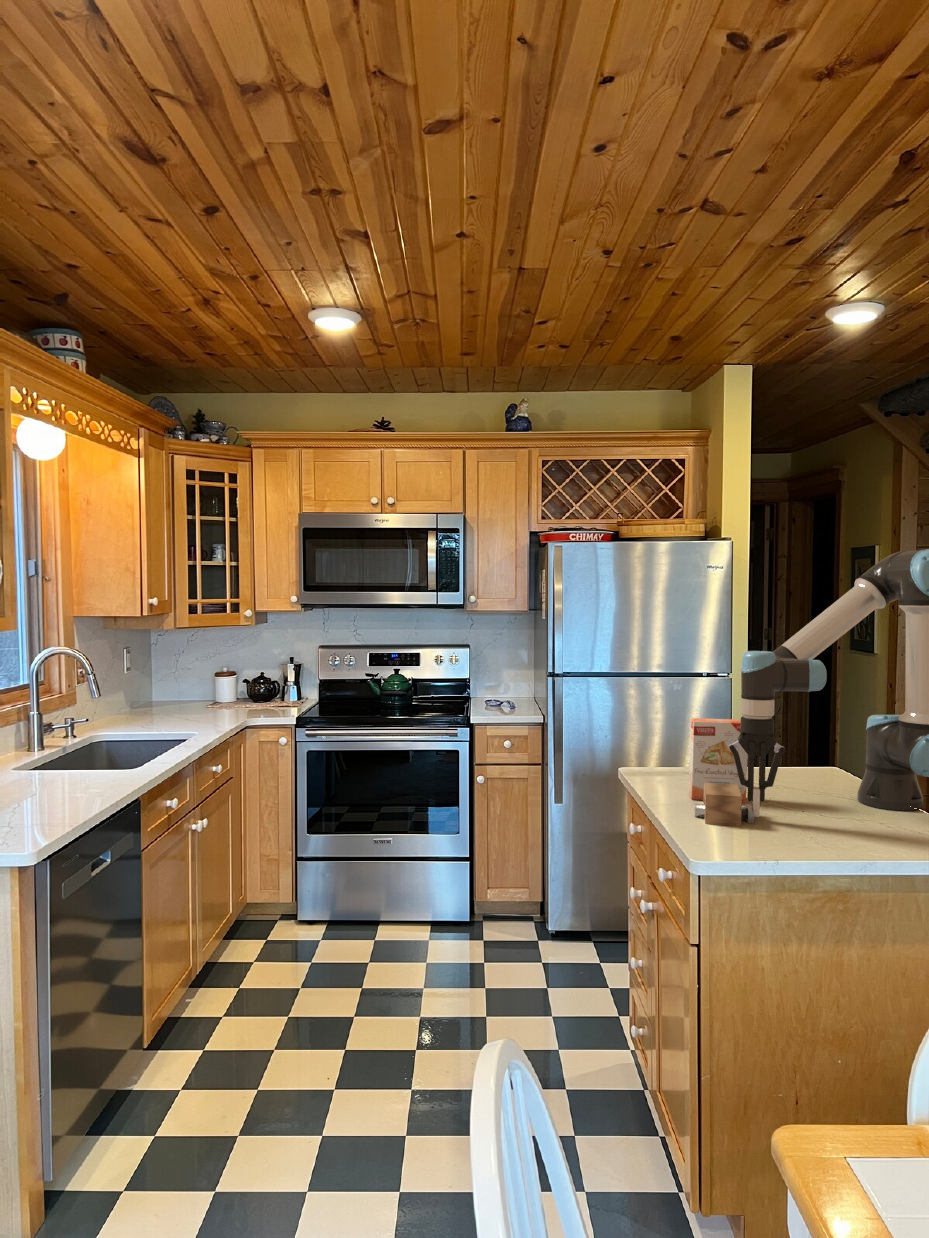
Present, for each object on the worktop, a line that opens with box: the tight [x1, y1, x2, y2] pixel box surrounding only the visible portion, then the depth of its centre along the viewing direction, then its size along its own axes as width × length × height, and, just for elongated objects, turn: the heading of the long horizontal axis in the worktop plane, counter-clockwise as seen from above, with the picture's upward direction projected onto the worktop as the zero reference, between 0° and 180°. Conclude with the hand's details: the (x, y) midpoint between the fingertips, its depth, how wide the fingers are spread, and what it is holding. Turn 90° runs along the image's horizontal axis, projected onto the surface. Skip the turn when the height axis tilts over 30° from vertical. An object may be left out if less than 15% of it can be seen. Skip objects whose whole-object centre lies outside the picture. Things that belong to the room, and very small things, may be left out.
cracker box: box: [688, 717, 748, 803], centre depth 219 cm, size 14×6×21 cm, turn 83°
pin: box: [694, 803, 755, 824], centre depth 201 cm, size 13×6×3 cm, turn 77°
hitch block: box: [703, 783, 743, 827], centre depth 201 cm, size 8×12×7 cm, turn 166°
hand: (755, 814), depth 199 cm, fingers closed
